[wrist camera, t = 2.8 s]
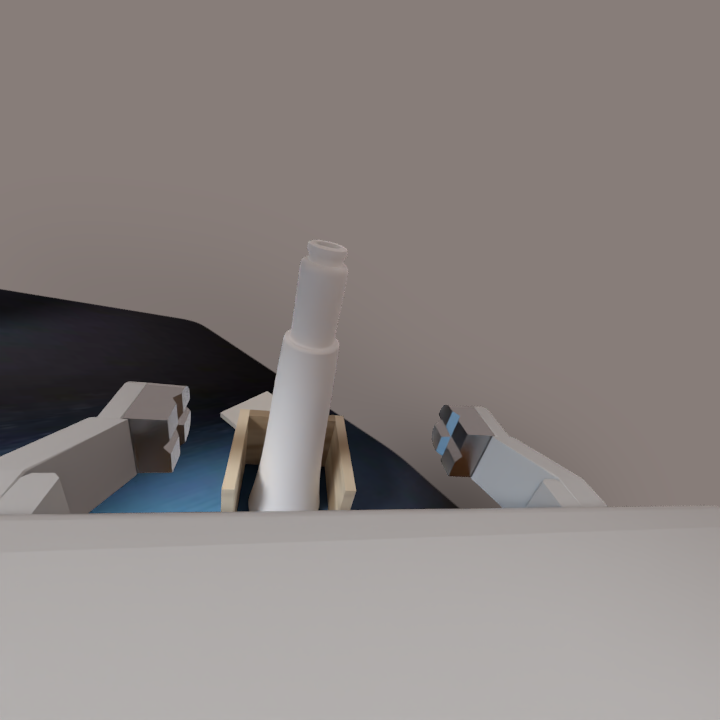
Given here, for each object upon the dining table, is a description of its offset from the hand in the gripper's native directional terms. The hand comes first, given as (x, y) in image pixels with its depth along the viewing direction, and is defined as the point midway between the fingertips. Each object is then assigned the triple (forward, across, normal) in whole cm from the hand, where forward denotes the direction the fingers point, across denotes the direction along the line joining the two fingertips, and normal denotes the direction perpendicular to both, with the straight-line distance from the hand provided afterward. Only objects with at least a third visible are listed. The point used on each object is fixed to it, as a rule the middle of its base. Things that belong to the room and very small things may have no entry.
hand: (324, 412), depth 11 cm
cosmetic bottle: (+11, 0, +19) cm, 22 cm away
